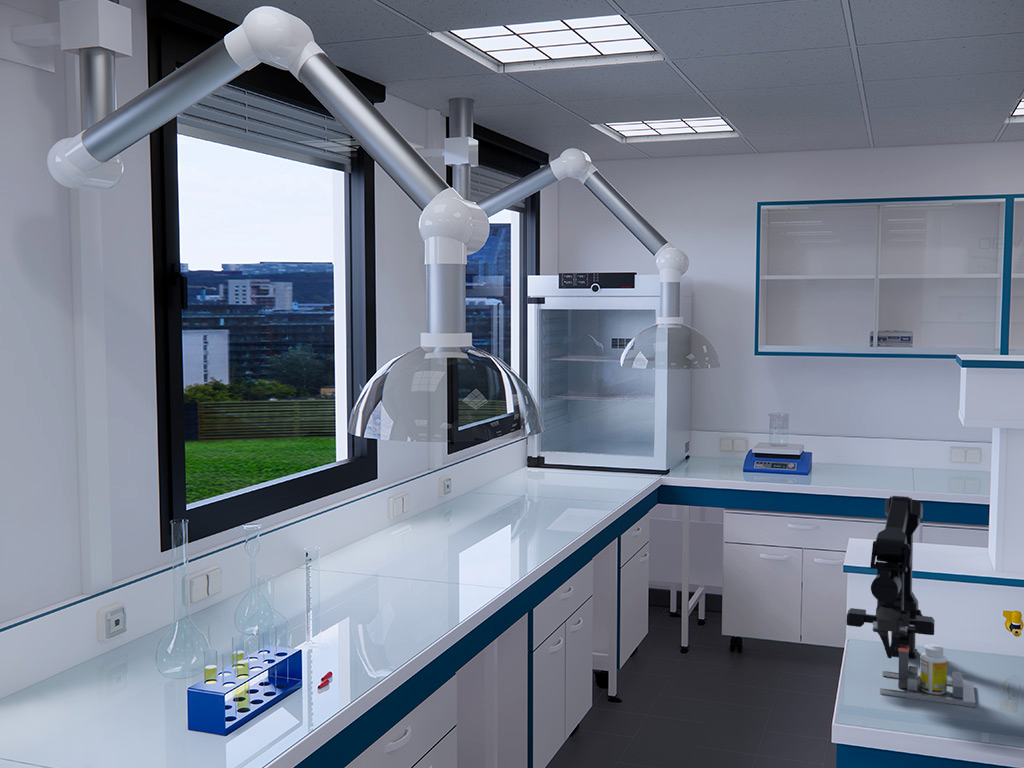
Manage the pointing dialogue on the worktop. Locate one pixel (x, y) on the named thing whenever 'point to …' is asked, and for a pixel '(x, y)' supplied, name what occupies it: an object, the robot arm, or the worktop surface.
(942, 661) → the supplement bottle
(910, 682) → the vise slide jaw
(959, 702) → the frame
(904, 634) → the robot arm
